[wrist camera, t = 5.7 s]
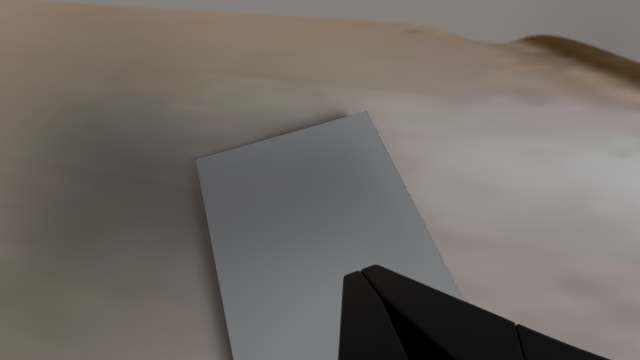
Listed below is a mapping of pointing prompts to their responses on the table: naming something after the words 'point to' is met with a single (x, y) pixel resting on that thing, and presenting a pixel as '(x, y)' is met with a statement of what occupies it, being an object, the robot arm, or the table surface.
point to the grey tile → (308, 234)
